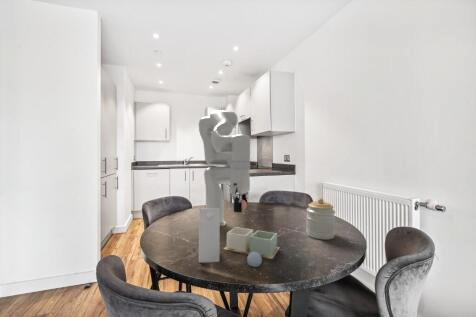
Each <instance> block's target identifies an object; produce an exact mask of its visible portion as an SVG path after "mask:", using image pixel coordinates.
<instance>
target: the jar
mask: <svg viewBox="0 0 476 317" xmlns="http://www.w3.org/2000/svg"><path fill="white" fill-rule="evenodd" d="M307 205H308V207H307V208H306V212H307V213H306V214H307V215H306V228H305V230H306V235H308V237H310V238H313V239H315V240H316V239H317V240H326V241H327V240H332V239H334V238H335V235H336V231H335V230H336V229H335V227H336V218H335V214H336V211H335V210H334V209H333V208H334V206H333V205H332V204H331V203H329V202H327V201H324V199H323V198H318V199H317V201H311V202H310V203H308V204H307Z"/></svg>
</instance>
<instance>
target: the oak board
mask: <svg viewBox="0 0 476 317" xmlns="http://www.w3.org/2000/svg"><path fill="white" fill-rule="evenodd" d="M280 248H281V247H280V246H277V249H276V250H275V252H274V253H273V255H272V256H271V257H270V256H265V255H260V256H261V258H266V259H270V260H272V259H274V257H275V256H276V254H277V253H278V251H279V250H280ZM222 249H223V250H227V251H231V252H235V253H242V254H246V255H249V254H250V248H249V249H248V250H247V251H246V252H245V251H240V250H235V249H230V248H227V245H225V247H223V248H222Z"/></svg>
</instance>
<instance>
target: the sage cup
mask: <svg viewBox="0 0 476 317" xmlns="http://www.w3.org/2000/svg"><path fill="white" fill-rule="evenodd" d="M277 247H278V233H276V232H271V231H264V230H256V231H255V232H253V235H252V236H250V253H251V252H257V253H259V254H260V255H265V256H270V257H271V256H272V255H273V253H274V252H275V250H276V249H277Z"/></svg>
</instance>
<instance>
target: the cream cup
mask: <svg viewBox="0 0 476 317" xmlns="http://www.w3.org/2000/svg"><path fill="white" fill-rule="evenodd" d="M253 234H254V229H250V228H245V227H239V226H235V227H233V228H232V229H230V230H229V231H227V232H226V246H227V248H230V249H235V250H240V251H245V252H246V251H247V250H248V249H249V248H250V236H252V235H253Z"/></svg>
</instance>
